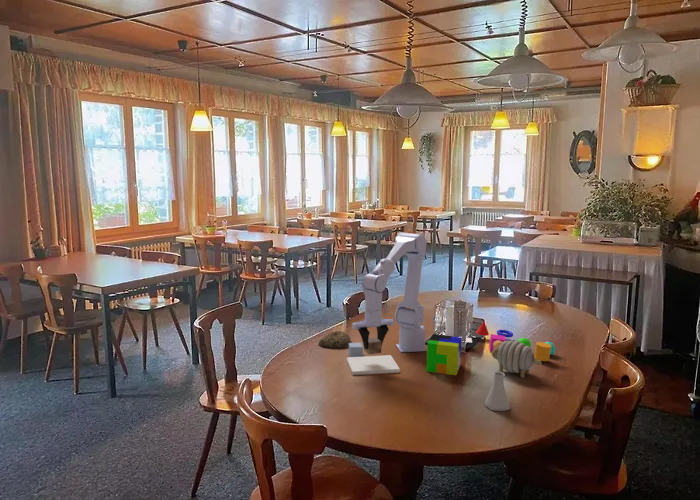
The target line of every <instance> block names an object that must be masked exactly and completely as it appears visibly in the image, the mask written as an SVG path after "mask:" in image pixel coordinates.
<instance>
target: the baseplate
mask: <svg viewBox="0 0 700 500" xmlns="http://www.w3.org/2000/svg"><path fill="white" fill-rule="evenodd" d="M346 362H347V365H348V367H349V370H350V372H351V374H352V376H355V375H356V376H358V375H362V376H363V375H375V374H376V375H377V374H381V375H382V374H394V373H397V374H398V373H400V372H401V369H400V367H399V365H398V364H397V363H396V361H395V360H394V358H393V357H392V355H390V354H389V355H387V354H385V355H372V356H371V355H370V356H366V355H365V356H364V355H363V357H350V356H349V357H346Z"/></svg>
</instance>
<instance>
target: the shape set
mask: <svg viewBox="0 0 700 500" xmlns="http://www.w3.org/2000/svg"><path fill="white" fill-rule="evenodd" d="M475 333H476V334H477V335H479V336H484V337H485V336H489V335H490V337H489V343H488V348H489V352H491V353H492V351H493V349H494V348H495V347H497V346H499V345H501V343H502V342H504V341H507V338H513V337H514V333H513V332H512V331H510V330H507V329H498V330H497V331H496V334H494V333H493V334H492V333H490V334H489V330H488V328H487V325H486V322H485V321H483V322H482V324H481V325H480V326H479V327H478V329H477V330H476V331H475ZM472 339H473V338H471V337H466V341H465V343H473V340H472ZM517 341H519V342H520V343H524V344H525V345H526V346H529V347H530V348H531V349H532V343H531V341H530V339H528V338H526V337H521V338H518V340H517ZM555 352H556V346H555V345H554V343H553V342H550V341H545V342H544V341H537V342H536V343H535V348H534V352H533V354H534V357H535V359H536V360H540V361H541V362H549V361H550V356H552V355H554V354H555Z"/></svg>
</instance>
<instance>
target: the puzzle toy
mask: <svg viewBox="0 0 700 500" xmlns="http://www.w3.org/2000/svg"><path fill="white" fill-rule="evenodd" d="M462 337H463V336H459V337H458V336H453V335H451V336H450V335H444V334H435V333H433V334H432V335H431V336H430V338H429V340H428V342H427V345H426V346H427V347H426V367H425V368H426V370H425V371H426V372H429V373H438V374H445V375H450V376H457V374H458V372H459V369H460V366H461V356H462V341H461V338H462Z"/></svg>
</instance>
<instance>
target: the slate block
mask: <svg viewBox="0 0 700 500" xmlns="http://www.w3.org/2000/svg"><path fill="white" fill-rule="evenodd" d="M348 355H349V357H364V345H362V342H351V343H349V347H348Z"/></svg>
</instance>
